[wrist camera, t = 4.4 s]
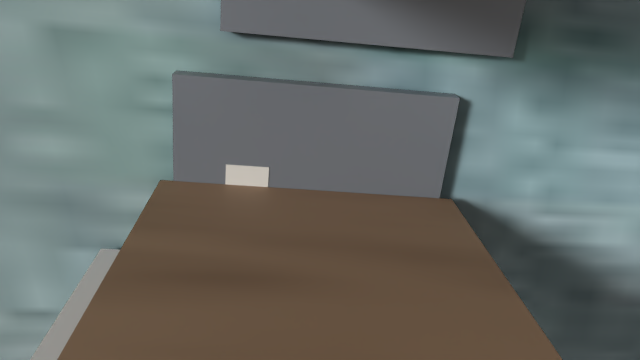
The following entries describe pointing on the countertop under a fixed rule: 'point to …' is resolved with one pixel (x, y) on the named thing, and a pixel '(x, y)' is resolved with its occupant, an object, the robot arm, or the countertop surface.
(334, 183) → the tile
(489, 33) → the code tile
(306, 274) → the walnut block
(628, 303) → the countertop surface
